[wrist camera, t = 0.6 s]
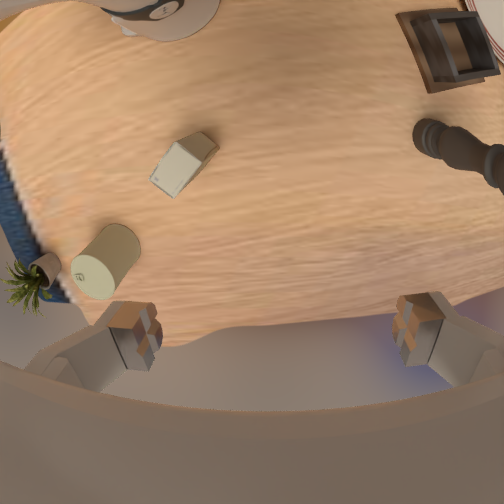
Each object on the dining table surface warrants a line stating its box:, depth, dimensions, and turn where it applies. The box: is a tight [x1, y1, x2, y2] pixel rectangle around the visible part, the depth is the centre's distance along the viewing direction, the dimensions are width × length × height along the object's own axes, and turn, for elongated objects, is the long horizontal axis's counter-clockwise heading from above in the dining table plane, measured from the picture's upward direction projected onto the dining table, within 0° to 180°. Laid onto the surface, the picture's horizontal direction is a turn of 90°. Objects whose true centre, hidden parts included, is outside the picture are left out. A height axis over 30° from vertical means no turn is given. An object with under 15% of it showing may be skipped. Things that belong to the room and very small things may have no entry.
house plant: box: [1, 253, 61, 316], centre depth 50 cm, size 14×14×16 cm
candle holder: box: [413, 119, 504, 195], centre depth 28 cm, size 6×6×25 cm
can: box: [71, 224, 140, 300], centre depth 48 cm, size 9×9×12 cm
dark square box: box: [395, 8, 501, 94], centre depth 27 cm, size 14×13×8 cm
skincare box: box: [148, 132, 220, 199], centre depth 38 cm, size 6×4×12 cm
